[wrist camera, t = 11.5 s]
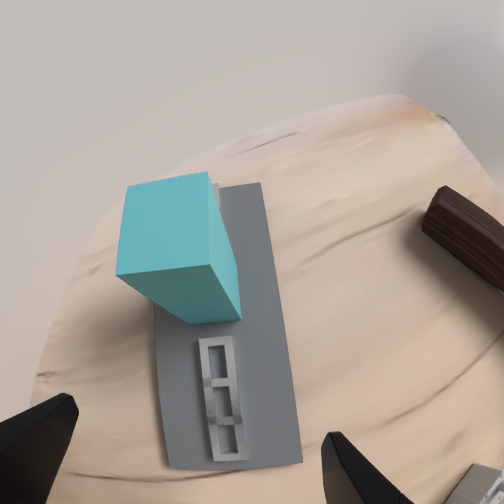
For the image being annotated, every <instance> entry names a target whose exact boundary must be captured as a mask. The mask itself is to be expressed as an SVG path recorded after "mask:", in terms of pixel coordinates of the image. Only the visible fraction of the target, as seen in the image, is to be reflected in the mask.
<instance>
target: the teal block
mask: <svg viewBox="0 0 504 504" xmlns="http://www.w3.org/2000/svg"><path fill="white" fill-rule="evenodd" d="M115 275H116V276H117V277H119V278H120V279H121V280H123V281H124V282H126V283H127V284H128V285H130V286H131V287H133V288H134V289H136V290H137V291H139V292H140V293H141V294H143V295H144V296H146V297H147V298H149V299H150V300H152V301H153V302H155V303H156V304H158V305H159V306H161V307H163V308H164V309H166V310H167V311H169V312H170V313H172V314H173V315H175V316H177V317H178V318H180V319H181V320H183V321H185V322H186V323H188V324H203V323H214V322H225V321H236V320H242V318H241V307H240V297H239V286H238V275H237V264H236V261H235V258H234V255H233V251H232V248H231V245H230V242H229V239H228V236H227V233H226V229H225V226H224V223H223V220H222V217H221V214H220V210H219V207H218V204H217V201H216V197H215V194H214V191H213V188H212V184H211V181H210V178H209V175H208V171H207V172H201V173H195V174H189V175H183V176H178V177H172V178H167V179H162V180H157V181H152V182H148V183H143V184H138V185H134V186H129V187H128V188H127V193H126V199H125V204H124V210H123V216H122V223H121V230H120V237H119V245H118V254H117V263H116V274H115Z"/></svg>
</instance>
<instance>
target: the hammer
mask: <svg viewBox="0 0 504 504" xmlns="http://www.w3.org/2000/svg"><path fill="white" fill-rule="evenodd" d="M422 230H423V231H424V232H425V233H426V234H427V235H429V236H430V237H431V238H432V239H434V240H435V241H436V242H437V243H438V244H440V245H441V246H442V247H444V248H445V249H446V250H448V251H449V252H450V253H452V254H453V255H454V256H456V257H457V258H458V259H459V260H461V261H462V262H463V263H465V264H466V265H467V266H469V267H470V268H471V269H473V270H474V271H476V272H477V273H479V274H480V275H481V276H483V277H484V278H485V279H487V280H488V281H490V282H491V283H492V284H494V285H495V286H496V287H498V288H499V289H500V290H502V291H503V292H504V226H502V225H501V224H500V223H499V222H498V221H497V220H496V219H495V218H493V217H492V216H491V215H489V214H488V213H487V212H485V211H484V210H482V209H481V208H480V207H478V206H477V205H475V204H474V203H472V202H471V201H469V200H468V199H466V198H465V197H463V196H462V195H460V194H459V193H457V192H456V191H454V190H452V189H451V188H449V187H448V186H446V185H445V186H443V187H441V188H439V189H438V190H437V192H436V194H435V195H434V197H433V199H432V201H431V203H430V205H429V207H428V209H427V211H426V214H425V216H424V219H423V223H422Z"/></svg>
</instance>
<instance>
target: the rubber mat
mask: <svg viewBox="0 0 504 504" xmlns="http://www.w3.org/2000/svg"><path fill="white" fill-rule="evenodd" d="M220 198H221V211H222V220H223V223H224V226H225V229H226V233H227V236H228V239H229V242H230V245H231V248H232V251H233V255H234V258H235V261H236V264H237V275H238V286H239V297H240V307H241V318H242V320H236V321H225V322H214V323H203V324H188V323H186V322H185V321H183V320H181V319H180V318H178V317H177V316H175V315H173V314H172V313H170V312H169V311H167V310H166V309H164V308H163V307H161V306H159V305H158V304H156V303H155V302H154V329H155V349H156V364H157V377H158V388H159V397H160V406H161V414H162V422H163V429H164V435H165V442H166V448H167V454H168V459H169V464H170V469H184V470H241V469H256V468H267V467H276V466H284V465H291V464H297V463H303V457H302V449H301V441H300V433H299V425H298V418H297V410H296V403H295V395H294V388H293V381H292V374H291V367H290V360H289V353H288V347H287V340H286V333H285V327H284V320H283V314H282V307H281V301H280V295H279V288H278V282H277V276H276V270H275V264H274V258H273V252H272V246H271V240H270V234H269V229H268V223H267V217H266V212H265V206H264V200H263V195H262V189H261V184H260V182H259V183H252V184H245V185H238V186H231V187H225V188H220ZM223 336H233V338H234V347H235V356H236V364H237V373H238V381H239V389H240V397H241V404H242V412H243V419H244V426H245V433H246V440H247V447H248V454H249V458H248V460H237V461H214V458H213V452H212V445H211V439H210V432H209V425H208V418H207V410H206V402H205V394H204V386H203V376H202V367H201V357H200V346H199V339H203V338H213V337H223ZM210 351H211V361H212V370H213V379H217V378H228V373H227V365H226V356H225V346H218V347H210ZM214 388H215V396H216V404H217V412H218V416H228V415H233V413H232V406H231V398H230V390H229V386H222V387H214ZM219 426H220V433H221V440H222V447H223V451H237V450H238V448H237V442H236V435H235V428H234V425H219Z"/></svg>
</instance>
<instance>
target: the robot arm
mask: <svg viewBox="0 0 504 504" xmlns="http://www.w3.org/2000/svg"><path fill="white" fill-rule="evenodd" d="M78 416H79V410H78V407H77V405H76V403H75V400H74V398H73V397H72V396H71V395H69V394H67V393H60V394H58V395H56V396H54V397H52V398H50V399H48V400H46V401H44V402H42V403H40V404H38V405H36V406H34V407H32V408H30V409H28V410H26V411H24V412H22V413H20V414H17V415H15V416H13V417H11V418H9V419H7V420H5V421H2V422H0V504H46V501H47V498H48V495H49V493H50V490H51V487H52V485H53V482H54V480H55V477H56V475H57V472H58V470H59V467H60V465H61V463H62V460H63V458H64V456H65V453H66V451H67V449H68V446H69V443H70V441H71V437H72V434H73V431H74V428H75V425H76V422H77V419H78ZM321 456H322V472H323V486H324V492H325V497H326V502H327V504H414V503H413V502H412V501H410V500H409V499H408V498H407V497H406V496H405V495H404V494H403V493H401V492H400V491H399V490H398V489H397V488H396V487H395V486H394V485H393V484H392V483H391V482H390V481H389V480H388V479H387V478H386V477H385V476H384V475H382V474H381V473H380V472H379V471H378V470H377V469H376V468H375V467H374V466H373V465H372V464H371V463H370V462H369V461H368V460H367V459H366V458H365V457H364V456H363V455H362V454H361V453H360V452H359V451H358V450H357V449H356V447H355V446H354V445H353V444H352V443H351V442H350V441H349V440H348V439H347V438H346V437H345V436H344V435H343V434H342V433H341V432H339V431H336V432H329V433H327V435H326V437H325V439H324V441H323V444H322V446H321Z"/></svg>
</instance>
